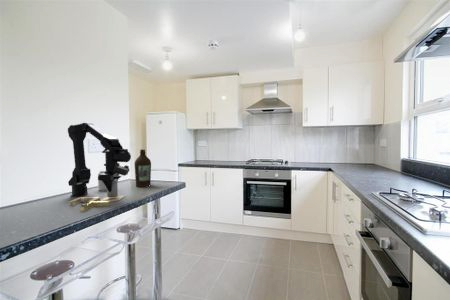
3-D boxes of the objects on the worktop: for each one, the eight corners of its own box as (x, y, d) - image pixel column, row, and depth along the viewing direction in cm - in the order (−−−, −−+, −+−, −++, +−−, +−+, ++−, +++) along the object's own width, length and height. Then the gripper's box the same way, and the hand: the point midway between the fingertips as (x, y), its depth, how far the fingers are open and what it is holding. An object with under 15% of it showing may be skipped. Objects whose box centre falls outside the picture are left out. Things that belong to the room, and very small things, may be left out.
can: (96, 191, 137) (96, 171, 136) (100, 188, 144) (99, 170, 143) (110, 190, 138) (109, 171, 138) (113, 188, 146) (112, 169, 145)
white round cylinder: (105, 197, 116) (105, 180, 116) (109, 195, 121) (109, 178, 121) (115, 197, 117) (115, 180, 116) (119, 195, 122) (118, 178, 121)
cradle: (70, 205, 107) (69, 201, 107) (78, 201, 115) (78, 197, 115) (93, 204, 108) (93, 200, 108) (101, 200, 116) (101, 196, 115)
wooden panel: (99, 201, 114) (99, 200, 114) (107, 196, 123) (107, 196, 123) (117, 201, 115) (117, 200, 115) (124, 196, 124) (124, 195, 124)
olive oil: (133, 185, 154) (133, 149, 152) (149, 183, 159) (148, 149, 158) (136, 188, 145) (135, 150, 143) (153, 186, 150) (152, 149, 149)
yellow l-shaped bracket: (79, 211, 98) (79, 205, 98) (89, 205, 107) (89, 199, 107) (101, 210, 99) (101, 204, 99) (109, 205, 108) (109, 199, 108)
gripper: (120, 163, 109) (121, 194, 110) (133, 159, 128) (133, 186, 129) (96, 163, 108) (97, 195, 109) (112, 159, 127) (113, 187, 128)
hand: (112, 190), depth 119 cm, fingers closed on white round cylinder, 5 cm apart
